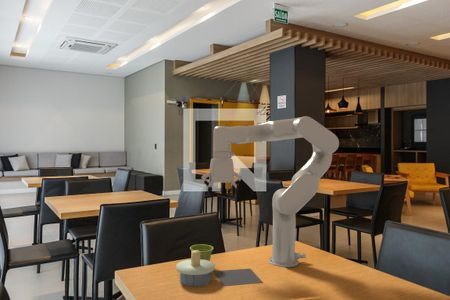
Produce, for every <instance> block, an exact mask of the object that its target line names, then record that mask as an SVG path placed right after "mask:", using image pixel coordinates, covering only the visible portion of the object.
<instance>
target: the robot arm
mask: <svg viewBox="0 0 450 300" xmlns="http://www.w3.org/2000/svg"><path fill="white" fill-rule="evenodd" d="M300 138H303V139H305V140H306V141H308V142H309V143H310V144H311V146H312V155H311V157H310V158H309V159H308V160H307V162H306V163H305V164H304V165H303V166H302V167H301V168H300V169H299V170H298V171H297V172H296V173H294V175H293V176H292V177H291V184H290V185H289V186H288V188H285V187H284V188H279V189H278V190H276V191H275V192H274V193H273V196H272V200H271V201H272V202H271V205H272V251H271V252H272V256H270V257H269V258H268V262H269V264H271V265H273V266H276V267H280V268H281V267H283V268H294V267H297V266H298V265H299V259H306V258H307V254H306V253H301V252H296V225H297V224H296V222H297V221H296V214H297V213H298V212H299V211H300V210H301V209H302V208H303V207H304V206H305V205H306V204H307V203H308V202H309V201H311V199H312V198H313V197H314V196H315V195H316V193H317V192H318V190H319V188H320V179H321V178H322V177H323V176H324V174H325V173H326V172H327V171H328V170H329V168H330V167H331V164H332V161H333V153H335V152H336V151H337V150H338V149H339V146H340V141H339V138H338V136H337V135H336V134H335V133H333V132H332V131H331V130H329V129H328V128H326V127H325V126H323V125H322V124H321V123H320V122H318V121H316V119H313V118H312V117H310V116H306V115H305V116H301V117H295V118H293V117H292V118H288V119H287V118H286V119H285V118H284V119H280V120H279V119H277V120H270V121H266V122H265V123H258V124H254V125H253V124H252V125H246V126H245V125H244V126H243V125H235V126H226V125H219V126H215V127H214V128H213V142H212V143H213V144H212V145H213V146H212V147H213V151H212V155H213V157H212V158H211V159H210V162H209V163H210V164H209V171H208V172H207V173H205V174H203V175H202V176H201V180H202V182H203V183H204V185H206V187H207V195H208V196H209V197H210V198H212V197H213V187H212V186H213V184H215V183H220V184H221V183H222V184H223V183H230V184H231V186H230V195H231V196H232V197H235V195H236V191H237V190H236V189H237V188H236V187H237V186H238V185H239V183H241V180H242V178H243V176H242V175H240V174H238V173H236V172H235V167H234V161H233V158H232V157H234V156H235V152H233V151H232V144H237V145H242V144H249V143H259V142H277V141H284V140H291V139H292V140H293V139H300ZM235 177H236V180H235ZM207 178H209V179H208V180H209V181H208V180H207Z"/></svg>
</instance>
